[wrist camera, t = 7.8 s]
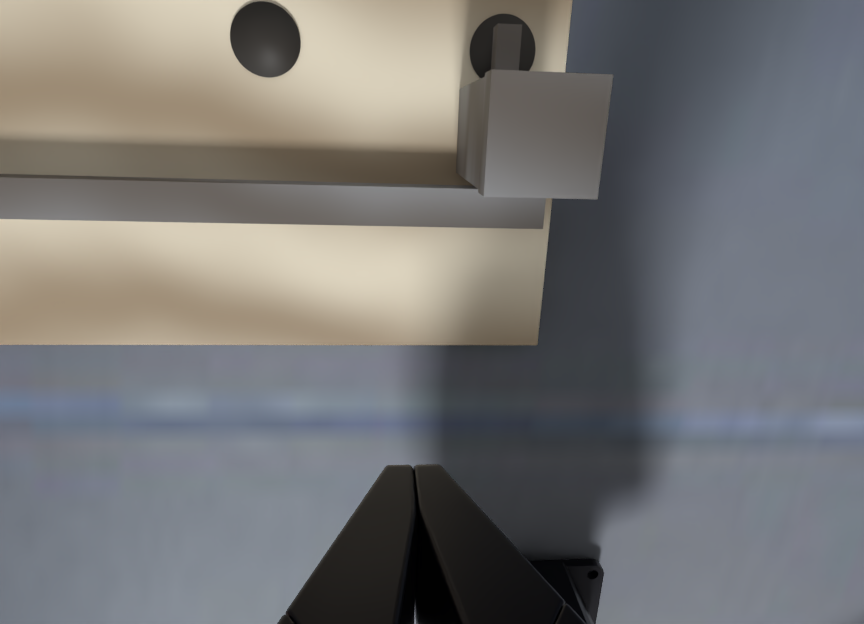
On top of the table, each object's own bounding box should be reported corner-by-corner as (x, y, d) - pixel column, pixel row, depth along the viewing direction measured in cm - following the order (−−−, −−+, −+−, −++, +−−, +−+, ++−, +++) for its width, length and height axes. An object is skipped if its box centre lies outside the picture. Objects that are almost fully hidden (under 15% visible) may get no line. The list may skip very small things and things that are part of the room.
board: (529, 333, 21) (594, 429, 14) (-182, 331, 19) (-487, 442, 12) (570, -102, 16) (693, -254, 10) (-358, -167, 14) (-989, -413, 8)
